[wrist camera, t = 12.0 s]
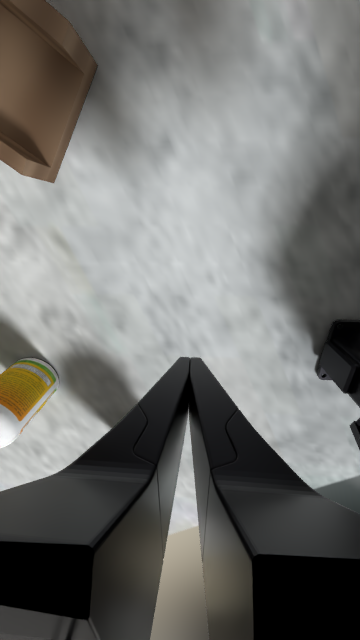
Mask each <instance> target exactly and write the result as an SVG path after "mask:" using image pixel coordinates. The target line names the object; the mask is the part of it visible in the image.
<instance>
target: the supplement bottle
mask: <svg viewBox="0 0 360 640" xmlns="http://www.w3.org/2000/svg"><path fill="white" fill-rule="evenodd" d="M58 385H59V379H58V376H57V374H56V372H55V371H54V369H53V368H52V367H51V366H50V365H49V364H47V363H46V362H44V361H42V360H39V359H36V358H24V359H21V360H19V361H17V362H16V363H14V364H13V365H12V366H10V367H9V368H8V369H7V370H5V371H4V372H3V373H2V374H0V448H2V447H5V446H7V445H9V444H11V443H12V442H13V441H14V440H15V439H16V438H17V437H18V436H19V435H20V433H21V432H22V431H23V430H24V429H25V427H26V426H27V425H28V424H29V423H30V421H31V420H32V419H33V418H34V416H35V415H36V414H37V413H38V412H39V410H40V409H41V408H42V407H43V406H44V405H45V403H46V402H47V401H48V400H49V399H50V397H51V396H52V395H53V394H54V392H55V391H56V390H57V388H58Z"/></svg>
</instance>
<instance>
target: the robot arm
mask: <svg viewBox="0 0 360 640" xmlns="http://www.w3.org/2000/svg"><path fill="white" fill-rule="evenodd" d="M339 324H341V325H340V326H339V327H337V326H338V325H339ZM319 364H320V365H319V368H318V371H317V376H318V377H319V378H320V379H321V380H333V381H334V382H335V383H336V385H337V386H338V387H339V388H340V389H341V391H342V392H343V393H345V394H349V396H350V397H351V398H352V399H353V400H354V401H355V403H356V404H357V405H358V406H359V407H360V320H336V321H334V322H333V324H332V326H331V329H330V333H329V336H328V339H327V342H326V343H325V346H324V349H323V352H322V355H321V359H320V362H319ZM322 374H324V375H322ZM188 410H189V421H190V432H191V444H192V455H193V466H194V477H195V488H196V499H197V510H198V522H199V533H200V543H201V555H202V563H203V578H204V589H205V599H206V611H207V622H208V633H209V640H360V514H359V513H357V512H354V511H353V510H350V509H348V508H346V507H344V506H342V505H340V504H338V503H336V502H333V501H331V500H329V499H327V498H325V497H323V496H322V495H320V494H319V493H317V492H316V491H315V490H313V489H312V488H311V487H310V486H308V485H307V484H306V483H305V482H304V481H303V480H302V479H301V478H300V477H299V476H298V475H297V474H296V473H295V472H294V471H293V470H292V469H291V468H290V467H289V466H288V465H287V464H286V462H285V461H284V460H283V459H282V458H281V457H280V456H279V455H278V454H277V453H276V452H275V451H274V450H273V449H272V448H271V447H270V446H269V444H268V443H267V442H266V441H265V440H264V439H263V438H262V437H261V436H260V435H259V433H258V432H257V431H256V430H255V429H254V428H253V427H252V425H251V424H250V423H249V422H248V420H247V419H246V418H245V416H244V415H243V414H242V412H241V411H240V410H239V409H238V407H237V406H236V405H235V403H234V402H233V401H232V399H231V398H230V397H229V395H228V394H227V393H226V391H225V390H224V389H223V387H222V386H221V385H220V383H219V382H218V381H217V379H216V378H215V377H214V375H213V374H212V373H211V371H210V370H209V369H208V367H207V366H206V365H205V363H204V362H203V361H202V359H201V358H195V357H192V358H191V359H190V358H189V357H180V358H179V359H178V360H177V361H176V362H175V363H174V364H173V366H172V367H171V368H170V369H169V370H168V371H167V372H166V373H165V374H164V375H163V376H162V377H161V378H160V380H159V381H158V382H157V383H156V384H155V385H154V386H153V387H152V388H151V389H150V390H149V391H148V393H147V394H146V395H145V396H144V397H143V398H142V399H141V400H140V401H139V402H138V404H136V405H135V406H134V408H133V409H132V410H131V411H130V412H129V413H128V414H127V415H126V416H125V417H124V418H123V419H122V420H121V421H120V422H119V423H118V424H117V425H115V426H114V427H113V428H112V429H111V430H110V431H109V432H108V433H107V434H105V435H104V436H103V437H102V438H101V439H100V440H98V441H97V442H96V443H95V444H94V445H93V446H91V447H90V448H89V449H88V450H87V451H86V452H85V453H83V454H82V455H81V456H80V457H79V458H78V459H76V460H75V461H74V462H73V463H71V464H70V465H69V466H67V467H66V468H64V469H63V470H61V471H59V472H58V473H56V474H53V475H51V476H48V477H46V478H42V479H39V480H36V481H33V482H30V483H26V484H23V485H20V486H17V487H14V488H10V489H7V490H4V491H1V492H0V640H150V636H151V630H152V624H153V617H154V612H155V607H156V600H157V594H158V589H159V583H160V577H161V571H162V565H163V558H164V553H165V548H166V541H167V536H168V530H169V524H170V518H171V512H172V506H173V501H174V495H175V489H176V483H177V477H178V471H179V465H180V459H181V454H182V448H183V442H184V436H185V430H186V424H187V418H188ZM350 428H351V430H352V433H353V435H354V437H355V440H356V442H357V445H358V447H359V450H360V418H359V419H358V420H357V421H354V422H353V423H352V424H351V425H350Z"/></svg>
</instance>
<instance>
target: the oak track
mask: <svg viewBox="0 0 360 640" xmlns="http://www.w3.org/2000/svg"><path fill="white" fill-rule="evenodd" d="M97 66H98V65H97V63H96V62H95V60H94V59H93V57H92V56H91V54H90V53H89V51H88V50H87V48H86V46H85V45H84V43H83V42H82V40H81V39H80V37H79V36H78V34H77V33H76V31H75V29H74V28H73V26H72V25H71V23H70V22H69V21H68V20H67V19H66V18H65V17H63V16H62V15H61V14H60V13H59V12H58V11H57V10H55V9H54V8H53V7H52V6H51V5H50V4H49V3H47V2H46V1H45V0H0V160H1V161H3V162H4V163H6V164H7V165H9V166H10V167H11V168H13V169H14V170H16V171H17V172H18V173H20V174H21V175H24V176H28V177H32V178H36V179H40V180H44V181H48V182H51V183H54V182H55V179H56V176H57V174H58V171H59V168H60V166H61V163H62V160H63V158H64V155H65V152H66V149H67V147H68V144H69V141H70V139H71V136H72V133H73V131H74V128H75V125H76V123H77V120H78V117H79V114H80V112H81V109H82V106H83V104H84V101H85V98H86V96H87V93H88V90H89V88H90V85H91V82H92V79H93V77H94V74H95V71H96V69H97Z"/></svg>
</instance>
